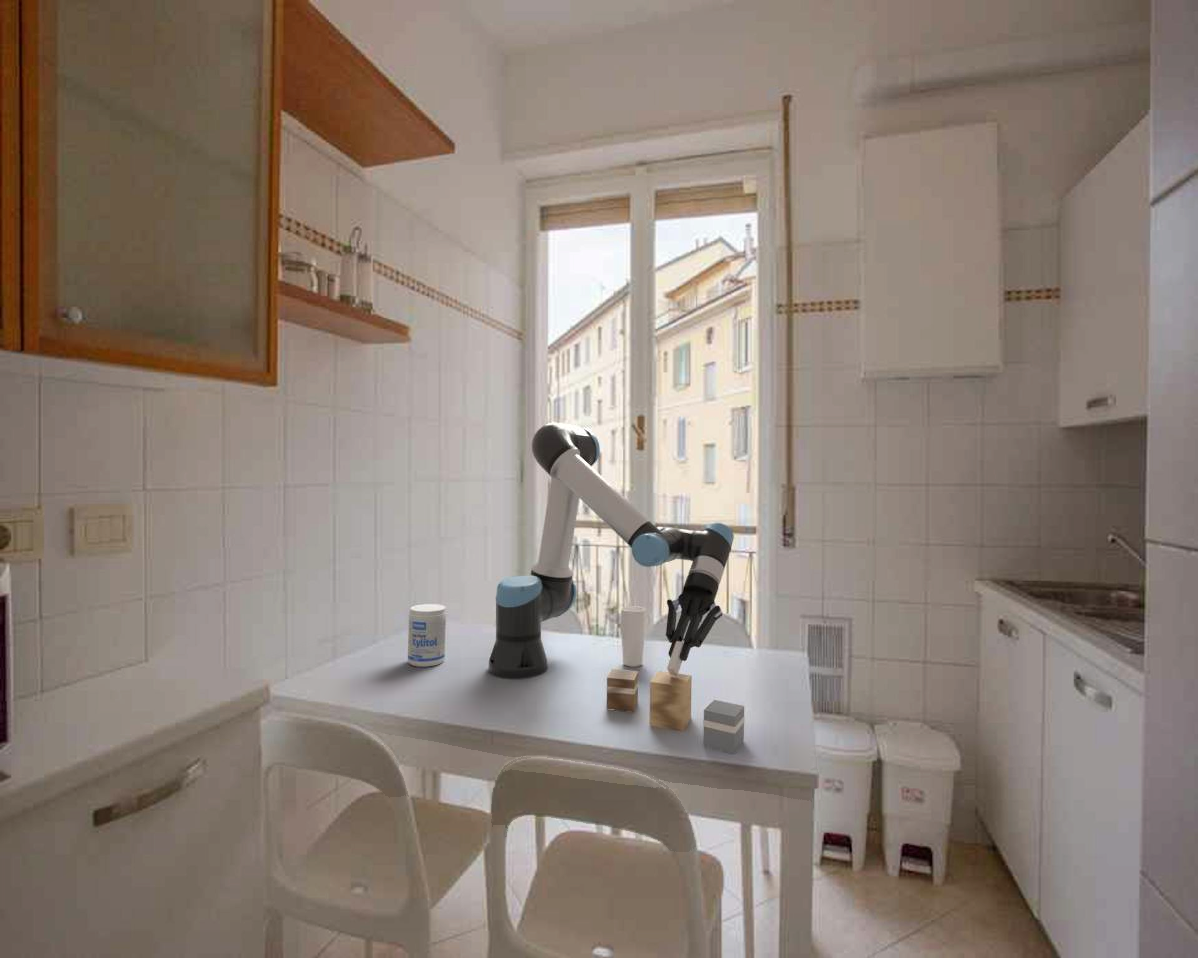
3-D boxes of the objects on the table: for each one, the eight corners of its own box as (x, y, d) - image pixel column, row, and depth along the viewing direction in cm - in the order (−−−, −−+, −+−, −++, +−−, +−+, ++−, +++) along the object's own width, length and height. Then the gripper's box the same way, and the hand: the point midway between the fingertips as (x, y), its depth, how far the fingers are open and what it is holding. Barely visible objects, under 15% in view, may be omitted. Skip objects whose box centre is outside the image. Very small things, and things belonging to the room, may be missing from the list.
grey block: (702, 746, 113) (703, 709, 113) (713, 734, 118) (714, 699, 118) (734, 754, 110) (735, 716, 110) (744, 741, 115) (744, 705, 115)
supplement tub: (409, 669, 154) (410, 612, 154) (406, 658, 163) (406, 604, 163) (448, 665, 158) (448, 609, 158) (442, 655, 167) (443, 602, 166)
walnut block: (606, 709, 130) (606, 677, 130) (611, 699, 136) (611, 668, 136) (634, 712, 129) (634, 680, 129) (638, 701, 135) (638, 670, 135)
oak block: (649, 725, 122) (650, 681, 122) (658, 712, 129) (659, 670, 129) (683, 731, 120) (683, 686, 119) (690, 717, 126) (691, 675, 126)
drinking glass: (637, 670, 156) (638, 612, 156) (615, 665, 160) (616, 609, 160) (649, 663, 162) (650, 607, 162) (627, 658, 166) (628, 604, 165)
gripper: (734, 593, 137) (706, 687, 123) (681, 587, 144) (649, 675, 130) (726, 573, 133) (696, 668, 119) (672, 567, 140) (638, 657, 125)
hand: (672, 672), depth 124 cm, fingers closed
